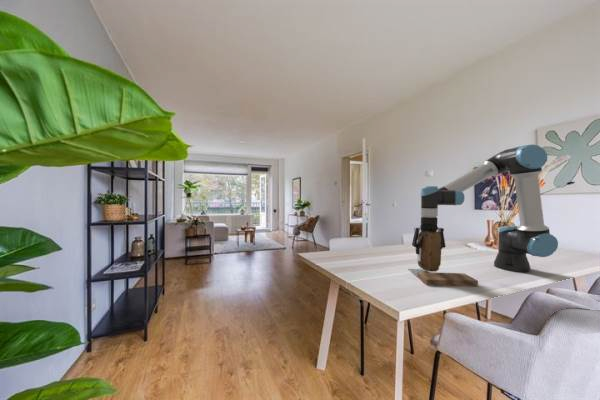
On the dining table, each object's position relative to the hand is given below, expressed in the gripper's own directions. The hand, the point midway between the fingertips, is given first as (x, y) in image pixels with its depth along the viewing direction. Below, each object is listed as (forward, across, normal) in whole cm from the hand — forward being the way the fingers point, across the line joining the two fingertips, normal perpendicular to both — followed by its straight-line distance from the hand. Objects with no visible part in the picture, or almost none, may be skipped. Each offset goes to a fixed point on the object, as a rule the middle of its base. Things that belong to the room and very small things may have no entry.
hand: (428, 260), depth 125 cm
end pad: (+6, +3, 0) cm, 7 cm away
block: (+4, 0, 0) cm, 4 cm away
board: (+6, -3, +12) cm, 14 cm away
